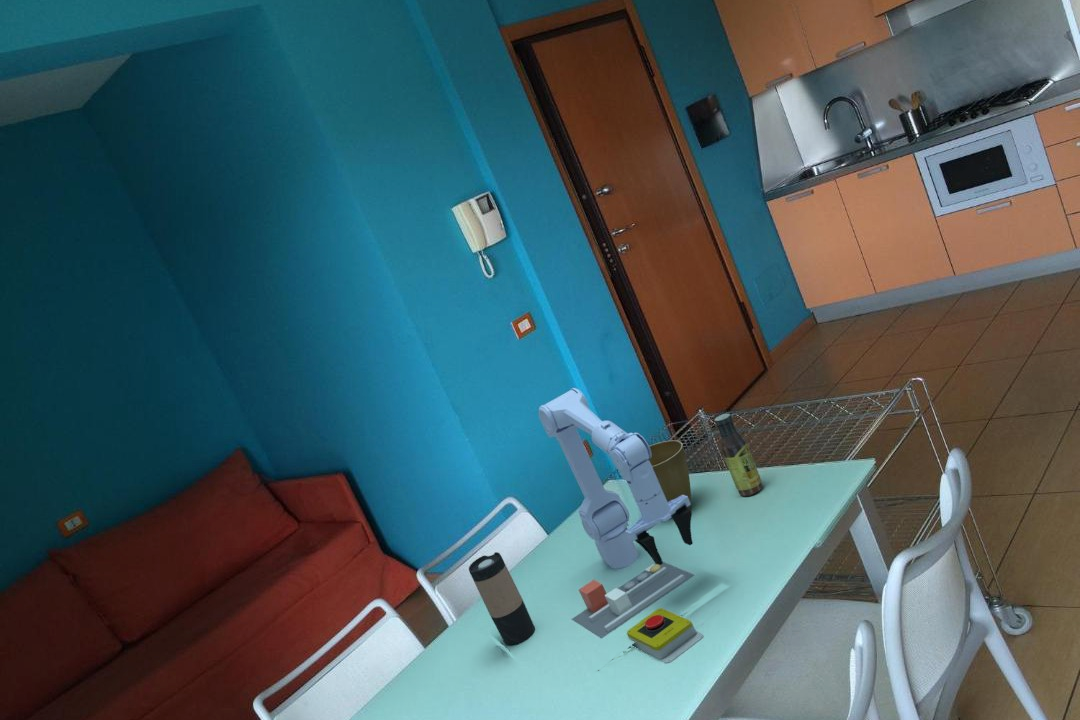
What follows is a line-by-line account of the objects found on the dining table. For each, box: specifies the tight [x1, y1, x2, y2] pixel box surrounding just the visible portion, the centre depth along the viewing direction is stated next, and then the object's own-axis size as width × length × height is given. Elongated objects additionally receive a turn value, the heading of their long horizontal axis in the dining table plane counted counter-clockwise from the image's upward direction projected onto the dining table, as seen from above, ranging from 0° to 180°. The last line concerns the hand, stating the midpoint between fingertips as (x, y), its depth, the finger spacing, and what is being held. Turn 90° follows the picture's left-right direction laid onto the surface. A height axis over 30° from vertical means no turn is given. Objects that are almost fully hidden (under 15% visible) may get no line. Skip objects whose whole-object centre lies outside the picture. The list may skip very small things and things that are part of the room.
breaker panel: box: [571, 560, 695, 639], centre depth 192 cm, size 14×24×2 cm, turn 114°
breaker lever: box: [605, 587, 632, 616], centre depth 188 cm, size 4×3×4 cm
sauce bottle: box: [714, 413, 763, 497], centre depth 219 cm, size 7×6×20 cm
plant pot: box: [648, 439, 692, 519], centre depth 226 cm, size 15×15×16 cm
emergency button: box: [626, 607, 704, 664], centre depth 174 cm, size 9×4×15 cm
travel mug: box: [468, 552, 536, 647], centre depth 196 cm, size 8×8×20 cm
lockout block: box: [578, 579, 608, 613], centre depth 194 cm, size 4×4×5 cm
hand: (674, 553), depth 183 cm, fingers open, 7 cm apart
